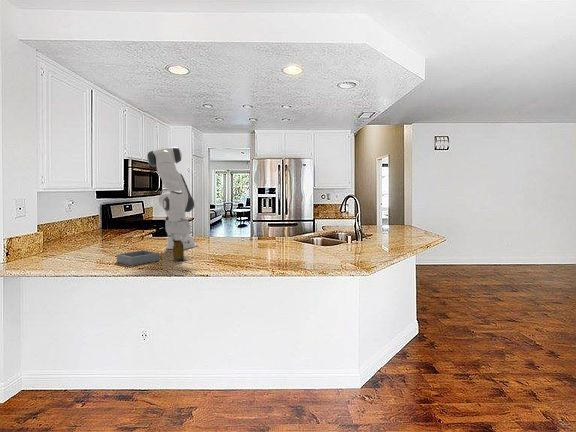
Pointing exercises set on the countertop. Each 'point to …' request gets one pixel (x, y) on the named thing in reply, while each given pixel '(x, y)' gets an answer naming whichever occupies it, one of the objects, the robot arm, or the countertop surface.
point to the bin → (137, 257)
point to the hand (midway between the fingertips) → (178, 241)
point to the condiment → (178, 251)
